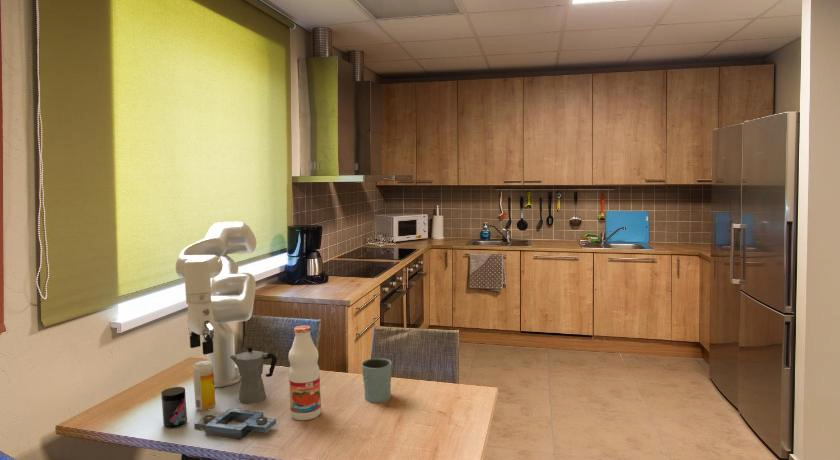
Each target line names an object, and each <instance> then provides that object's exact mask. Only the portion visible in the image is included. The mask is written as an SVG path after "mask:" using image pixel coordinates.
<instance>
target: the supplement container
mask: <svg viewBox="0 0 840 460" xmlns="http://www.w3.org/2000/svg"><path fill="white" fill-rule="evenodd" d="M160 393H161V394H160V395H161V409H162V423H163V426H164V427H165V428H167V429H177V428H180V427H183V426H184V425H186V423H187V422H188V413H187V398H186V395H187V394H186V388H185V387H181V386H174V387H169V388H165V389H164V390H162V391H161V392H160Z"/></svg>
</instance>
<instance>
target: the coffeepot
mask: <svg viewBox="0 0 840 460" xmlns="http://www.w3.org/2000/svg"><path fill="white" fill-rule="evenodd" d="M246 348H247V351H244V352H241V353H238V354H235V355H233V356H231V357H230V358H231V359H232V360H233V361H234V362H235V366H237V367H238V369H239V373H240V377H241V378H240V380H239V391H238V401H239V402H240V403H241V404H245V405H249V404H250V405H252V404H257V403H260V402H262V401H264V400H265V399H266V398H267V393H266V389H265V386H264V382H263V378H262V377H263V376H262V374H263V372H264V361H265V360H268V359H271V362H270V367H269V369H268V370H269V373H265V378H269V377H270V378H271V377H272V376H273V375H274V371H275V367H276V366H277V361H278V356H276V355H275V354H274V353H273V352H263V351H258V350H253V346H251V345H250V346H247V347H246Z"/></svg>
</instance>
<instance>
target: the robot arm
mask: <svg viewBox="0 0 840 460" xmlns="http://www.w3.org/2000/svg"><path fill="white" fill-rule="evenodd" d="M256 248H257V238H256V235H255V233H254V232H253V231H252V229H251V227H250V226H249V225H248V224H247V223H245V222H244V221H243V222H242V221H233V222H232V221H228V222H227V221H224V222H217V223H214V224H213V225H211V226H210V228H209V229H208V231H207V233H206V235H205V236H204V238H203V239H201V240H199V241H196V242H195V243H192V244H190V245H188V246H186V247H185V248H184V249H182V251H181V252H180V253H179V256H178V257H177V259H176V262H175V272H176V274H177V276H178V277H179V278H181V279H184V285H185V286H184V287H185V288H184V289H185V303H186V305H187V326H188V330H189V332H188V335H189V347H190V349H195V348H199V347H201V346H202V354H203V355H206V360H210V361H212V364H213V371H214V387H215V388H223V387H224V388H225V387H229V386H232V385H235V384H236V383H238V382H240V381H241V377H240V373H239V369H238V367H237V365H236V364H235V362H234V361H233V360H232V359H231V358H230V357H231V356H233V355H236V354H235V334H234V331H233V329H232V327H231V326H230V325H229V324H228V323H235V322H237V323H238V322H247V321H249V320H250V319H251V317H252V315H253V311H254V303H255V296H256V289H257V285H256V283H257V282H256V278H255V277H254V275H253V274H252V273H249V272H239V265H238V264H237V263H236V261H235V260H234V259H233V258H232V257H230V255H238V254H239V255H241V254H242V255H243V254H252V253H254V252H255V250H256ZM211 279H212V280H211ZM201 338H202V343H201Z"/></svg>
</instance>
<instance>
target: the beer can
mask: <svg viewBox="0 0 840 460" xmlns="http://www.w3.org/2000/svg"><path fill="white" fill-rule="evenodd" d="M192 370H193V371H192V374H193V387H194V389H193V390H194V391H193V392H194V403H195V408H196V409H197V410H198V411H200V412H201V411H203V412H205V411H209V410H211V409H213V408H214V407H215V405H216V393H215V392H216V391H215V388H216V387H214V371H213V364H212V361H210V360H207V359H203V360H199V361H195V362H194V364H193V367H192Z"/></svg>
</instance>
